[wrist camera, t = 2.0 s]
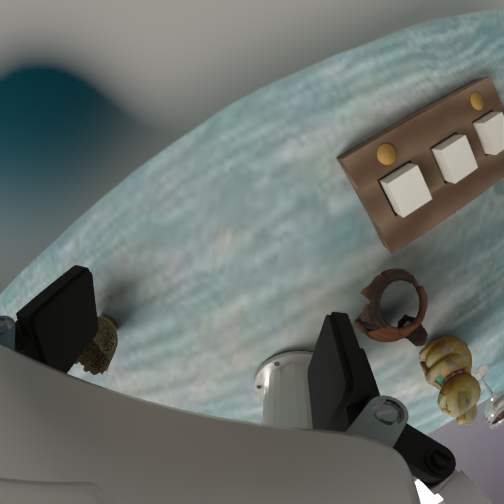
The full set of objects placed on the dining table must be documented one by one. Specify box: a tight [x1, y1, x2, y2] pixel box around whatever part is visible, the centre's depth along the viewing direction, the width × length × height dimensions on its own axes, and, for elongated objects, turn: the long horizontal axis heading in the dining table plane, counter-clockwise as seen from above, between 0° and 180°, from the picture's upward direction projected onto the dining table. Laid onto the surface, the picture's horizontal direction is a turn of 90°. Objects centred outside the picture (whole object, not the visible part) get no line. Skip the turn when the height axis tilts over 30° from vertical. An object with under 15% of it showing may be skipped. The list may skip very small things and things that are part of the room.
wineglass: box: [472, 365, 504, 429], centre depth 36 cm, size 7×7×12 cm
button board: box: [337, 77, 504, 254], centre depth 28 cm, size 12×24×3 cm, turn 124°
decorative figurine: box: [420, 336, 481, 426], centre depth 32 cm, size 10×8×15 cm
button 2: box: [379, 163, 432, 218], centre depth 28 cm, size 4×4×2 cm
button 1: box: [472, 112, 504, 155], centre depth 24 cm, size 4×4×2 cm
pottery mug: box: [355, 269, 428, 346], centre depth 35 cm, size 12×10×8 cm
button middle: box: [431, 135, 478, 184], centre depth 26 cm, size 4×4×2 cm
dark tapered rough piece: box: [74, 315, 118, 375], centre depth 38 cm, size 8×7×8 cm
